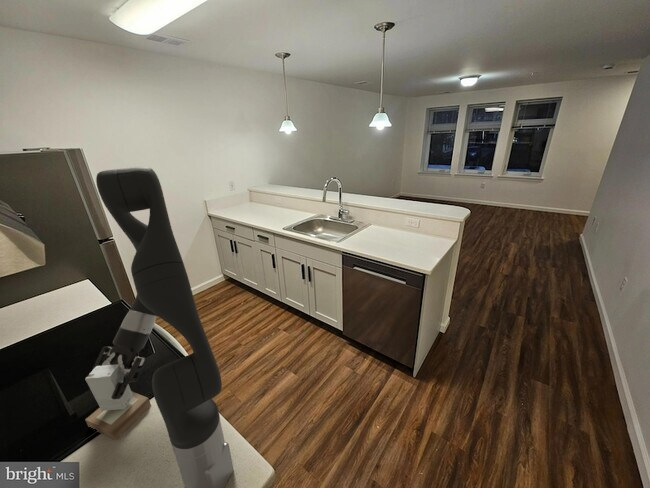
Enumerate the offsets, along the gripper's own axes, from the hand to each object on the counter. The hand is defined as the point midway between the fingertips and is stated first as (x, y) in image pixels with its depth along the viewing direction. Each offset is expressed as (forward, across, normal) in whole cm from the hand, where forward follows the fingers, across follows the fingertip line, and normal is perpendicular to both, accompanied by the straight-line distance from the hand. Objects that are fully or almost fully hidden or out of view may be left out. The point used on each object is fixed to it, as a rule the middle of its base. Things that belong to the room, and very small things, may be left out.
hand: (105, 394), depth 69 cm
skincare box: (+3, 0, +5) cm, 6 cm away
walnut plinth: (+6, 0, +8) cm, 10 cm away
